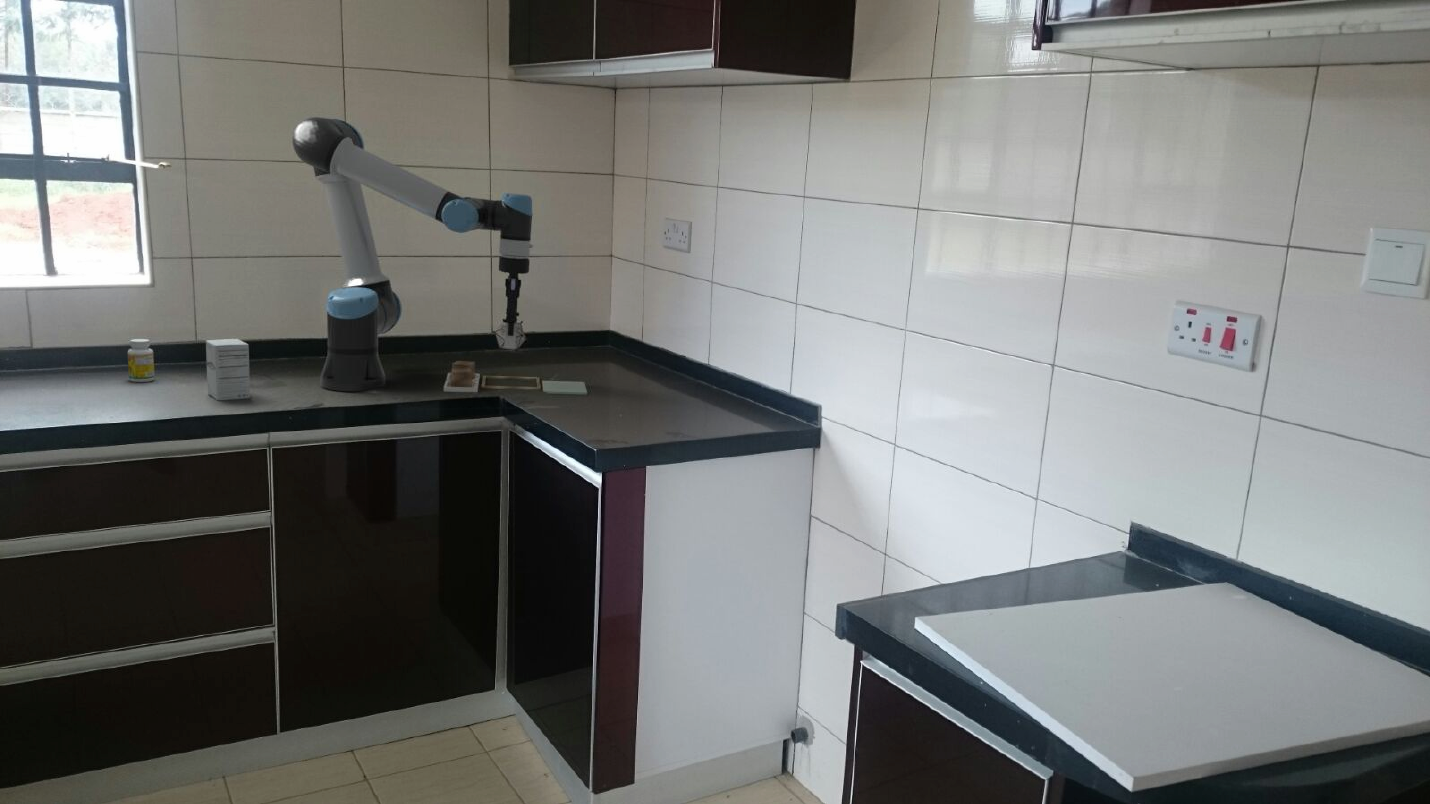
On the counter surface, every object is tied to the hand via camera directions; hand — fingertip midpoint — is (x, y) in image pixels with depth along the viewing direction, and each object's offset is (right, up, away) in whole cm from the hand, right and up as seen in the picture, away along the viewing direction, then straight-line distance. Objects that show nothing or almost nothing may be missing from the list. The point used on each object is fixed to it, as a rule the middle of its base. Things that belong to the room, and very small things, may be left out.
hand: (509, 344), depth 271 cm
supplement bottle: (-84, -10, -19) cm, 86 cm away
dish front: (-11, -12, -7) cm, 18 cm away
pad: (+13, -11, +3) cm, 18 cm away
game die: (0, -2, 0) cm, 2 cm away
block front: (-11, -11, -8) cm, 17 cm away
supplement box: (-58, -14, -29) cm, 67 cm away
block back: (-12, -9, +2) cm, 15 cm away
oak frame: (0, -10, +2) cm, 11 cm away
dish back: (-12, -10, +2) cm, 16 cm away
